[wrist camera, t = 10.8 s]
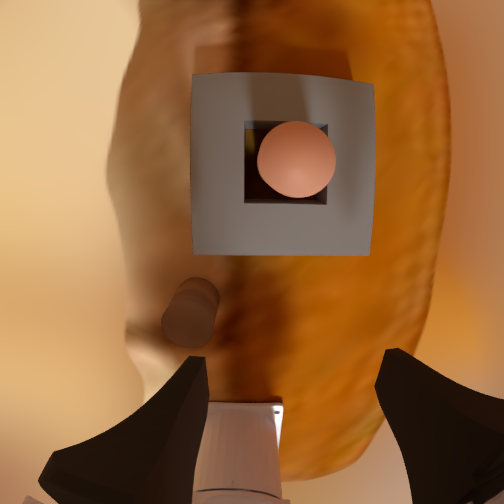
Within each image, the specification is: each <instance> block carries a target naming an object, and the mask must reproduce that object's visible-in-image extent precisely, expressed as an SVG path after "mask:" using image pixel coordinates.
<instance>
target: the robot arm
mask: <svg viewBox="0 0 504 504" xmlns="http://www.w3.org/2000/svg"><path fill="white" fill-rule="evenodd" d="M375 390H376V393H377V397H378V400H379V403H380V406H381V408H382V410H383V413H384V415H385V417H386V419H387V421H388V423H389V425H390V427H391V429H392V432H393V434H394V436H395V438H396V440H397V442H398V445H399V447H400V450H401V452H402V456H403V459H404V463H405V466H406V470H407V475H408V479H409V484H410V489H411V496H412V502H413V504H504V399H500V398H495V397H492V396H489V395H485V394H482V393H479V392H477V391H474V390H472V389H469V388H467V387H465V386H462V385H460V384H458V383H456V382H454V381H452V380H451V379H449V378H447V377H445V376H443V375H442V374H440V373H438V372H437V371H435V370H433V369H432V368H430V367H429V366H427V365H425V364H424V363H422V362H421V361H419V360H417V359H416V358H414V357H413V356H411V355H410V354H408V353H406V352H405V351H403V350H401V349H399V348H394V349H386V350H385V353H384V357H383V360H382V364H381V367H380V370H379V374H378V377H377V380H376V383H375ZM282 416H283V404H281V403H222V402H209V387H208V379H207V370H206V361H205V357H198V356H189V357H188V358H187V359H186V360H185V361H184V363H183V364H182V365H181V366H180V367H179V369H178V370H177V371H176V372H175V373H174V375H173V376H172V377H171V378H170V379H169V380H168V381H167V382H166V383H165V385H164V386H163V387H162V388H161V389H160V390H159V391H158V392H157V393H156V394H155V395H154V396H153V397H152V398H151V399H149V400H148V401H147V402H146V403H145V404H144V405H143V406H142V407H140V408H139V409H138V410H137V411H136V412H134V413H133V414H132V415H130V416H129V417H128V418H126V419H125V420H123V421H122V422H120V423H119V424H117V425H115V426H114V427H112V428H110V429H109V430H107V431H105V432H103V433H101V434H99V435H97V436H95V437H93V438H91V439H89V440H86V441H84V442H82V443H79V444H77V445H73V446H70V447H68V448H64V449H61V450H58V451H54V452H53V454H52V455H51V457H50V458H49V460H48V462H47V464H46V466H45V467H44V469H43V471H42V473H41V475H40V477H39V479H38V482H39V484H40V486H41V487H42V488H43V490H44V491H45V492H46V493H47V494H48V495H50V496H51V497H52V498H53V499H54V500H55V501H56V502H57V503H58V504H290V500H284V499H282V489H281V478H280V466H279V454H278V448H279V441H280V433H281V425H282ZM23 504H43V503H41V502H39V501H38V500H36V499H34V498H32V497H31V496H26V498H25V500H24V502H23Z"/></svg>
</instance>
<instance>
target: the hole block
mask: <svg viewBox="0 0 504 504" xmlns="http://www.w3.org/2000/svg"><path fill="white" fill-rule="evenodd" d="M291 121H301V122H306V123H309V124H312V125H314V126H316V127H318V128H319V129H320V130H322V131H323V132H324V133H325V134H326V135H327V137H328V138H329V140H330V141H331V143H332V145H333V148H334V151H335V156H336V165H335V171H334V173H333V176H332V178H331V180H330V181H329V183H328V184H327V185H326V186H325V187H324V188H323V189H322V190H321V191H319V192H318V193H316V194H315V200H312V199H264V198H245V129H273V128H275V127H276V126H278V125H280V124H283V123H286V122H291ZM375 163H376V132H375V103H374V87H373V84H370V83H364V82H359V81H353V80H346V79H339V78H332V77H324V76H314V75H303V74H290V73H268V72H230V73H208V74H194V75H192V92H191V131H190V180H191V220H192V244H193V255H369V254H370V245H371V235H372V223H373V210H374V193H375Z"/></svg>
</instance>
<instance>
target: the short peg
mask: <svg viewBox="0 0 504 504" xmlns="http://www.w3.org/2000/svg"><path fill="white" fill-rule="evenodd" d="M218 304H219V294H218V291H217V289H216V288H215V287H214V285H213V284H211V283H210V282H209V281H207V280H205V279H202V278H191V279H188V280H186V281H184V282H183V283H182V284H181V285H180V287H179V288H178V290H177V292H176V294H175V295H174V297H173V299H172V300H171V302H170V304H169V305H168V307H167V309H166V311H165V312H164V314H163V316H162V321H161V324H162V329H163V332H164V333H165V335H166V336H167V338H168V339H169V340H170V341H172V342H173V343H175V344H176V345H178V346H181V347H185V348H196V347H200V346H202V345H204V344H205V343H206V342H207V341H208V340H209V339H210V337H211V334H212V330H213V326H214V321H215V317H216V313H217V309H218Z"/></svg>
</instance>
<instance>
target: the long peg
mask: <svg viewBox="0 0 504 504" xmlns="http://www.w3.org/2000/svg"><path fill="white" fill-rule="evenodd" d="M335 165H336V156H335V151H334V148H333V145H332V143H331V141H330V140H329V138H328V137H327V135H326V134H325V133H324V132H323V131H322V130H320V129H319V128H318V127H316V126H314V125H312V124H309V123H306V122H301V121H291V122H286V123H283V124H280V125H278V126H276V127H275V128H273V129H272V130H271V131H270V132H269V133H268V134H267V135H266V137H265V138H264V140H263V141H262V144H261V146H260V149H259V153H258V157H257V170H258V173H259V175H260V176H261V178H262V179H263V180H264V181H265V182H266V183H267V184H268V185H270V186H271V187H272V188H273V189H274V190H276V191H277V192H279V193H281V194H283V195H286V196H289V197H295V198H302V197H308V196H311V195H314V194H316V193H318V192H319V191H321V190H322V189H323V188H324V187H325V186H326V185H327V184H328V183H329V181H330V180H331V178H332V176H333V173H334V171H335Z"/></svg>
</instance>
